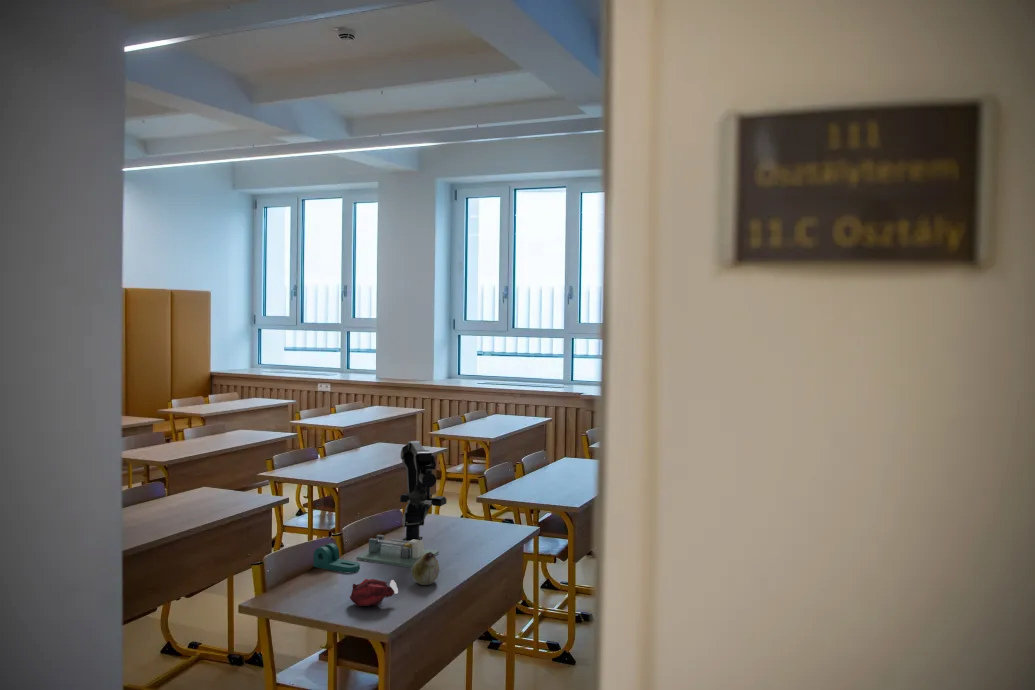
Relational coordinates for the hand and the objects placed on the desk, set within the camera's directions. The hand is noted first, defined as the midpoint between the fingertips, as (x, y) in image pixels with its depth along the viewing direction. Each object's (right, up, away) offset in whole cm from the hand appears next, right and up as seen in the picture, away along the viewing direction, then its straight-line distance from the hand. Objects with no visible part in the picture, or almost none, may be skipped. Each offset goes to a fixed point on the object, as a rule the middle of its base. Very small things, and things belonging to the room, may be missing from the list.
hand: (422, 520), depth 299 cm
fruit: (+5, -14, -36) cm, 39 cm away
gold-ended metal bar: (-11, -9, -5) cm, 15 cm away
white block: (-2, -12, -9) cm, 15 cm away
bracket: (-29, -13, -21) cm, 38 cm away
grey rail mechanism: (-11, -12, -5) cm, 17 cm away
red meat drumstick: (-9, -15, -58) cm, 60 cm away
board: (-9, -13, -6) cm, 17 cm away
